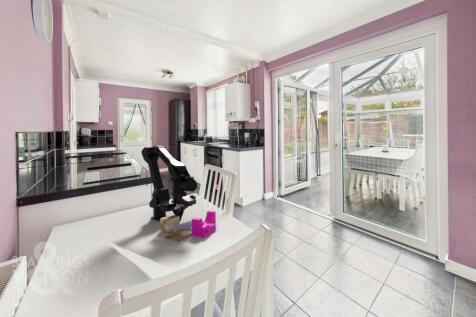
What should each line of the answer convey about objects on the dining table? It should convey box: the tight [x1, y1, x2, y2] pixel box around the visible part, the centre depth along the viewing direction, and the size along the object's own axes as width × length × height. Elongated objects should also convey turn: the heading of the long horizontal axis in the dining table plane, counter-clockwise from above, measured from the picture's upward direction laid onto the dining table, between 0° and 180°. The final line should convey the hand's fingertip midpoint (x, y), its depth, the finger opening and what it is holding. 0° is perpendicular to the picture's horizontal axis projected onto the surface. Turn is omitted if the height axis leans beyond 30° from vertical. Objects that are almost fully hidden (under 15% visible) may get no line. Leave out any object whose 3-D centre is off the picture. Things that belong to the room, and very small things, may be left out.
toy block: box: [190, 210, 217, 238], centre depth 98 cm, size 15×6×8 cm, turn 158°
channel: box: [172, 220, 192, 233], centre depth 103 cm, size 10×10×2 cm
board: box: [164, 228, 192, 242], centre depth 93 cm, size 8×10×1 cm
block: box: [159, 214, 181, 234], centre depth 99 cm, size 5×7×6 cm
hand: (179, 221), depth 104 cm, fingers closed
